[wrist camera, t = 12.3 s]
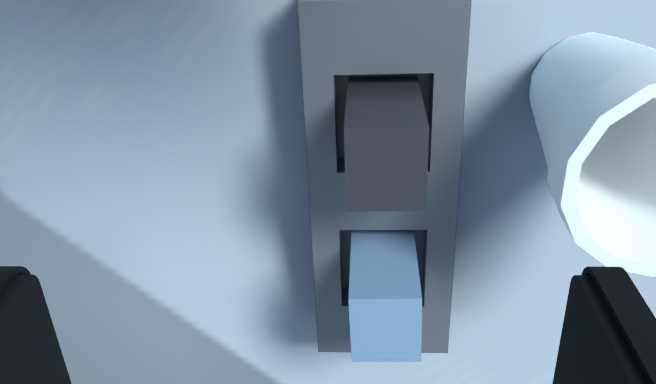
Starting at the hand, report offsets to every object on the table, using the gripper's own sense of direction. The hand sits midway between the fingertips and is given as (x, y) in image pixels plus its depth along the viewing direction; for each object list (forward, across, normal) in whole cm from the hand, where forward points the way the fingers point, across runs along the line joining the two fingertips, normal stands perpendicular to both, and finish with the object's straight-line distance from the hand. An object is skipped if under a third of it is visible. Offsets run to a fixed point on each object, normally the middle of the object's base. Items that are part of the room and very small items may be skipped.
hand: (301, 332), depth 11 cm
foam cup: (+28, -14, +5) cm, 32 cm away
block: (+27, -2, +16) cm, 31 cm away
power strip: (+28, -2, +8) cm, 29 cm away
